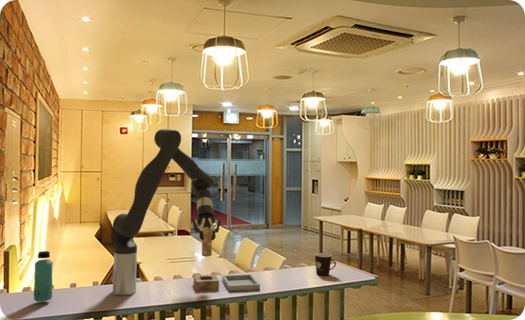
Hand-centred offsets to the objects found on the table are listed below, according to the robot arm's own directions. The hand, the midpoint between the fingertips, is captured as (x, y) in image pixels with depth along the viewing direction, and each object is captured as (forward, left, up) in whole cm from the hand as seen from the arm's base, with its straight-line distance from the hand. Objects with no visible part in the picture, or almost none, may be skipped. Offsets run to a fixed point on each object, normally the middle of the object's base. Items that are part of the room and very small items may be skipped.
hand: (207, 239), depth 192 cm
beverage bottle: (-65, -8, -22) cm, 69 cm away
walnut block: (0, +2, -22) cm, 22 cm away
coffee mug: (+62, +12, -22) cm, 67 cm away
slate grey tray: (+16, +2, -22) cm, 27 cm away
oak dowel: (0, +2, -8) cm, 8 cm away
